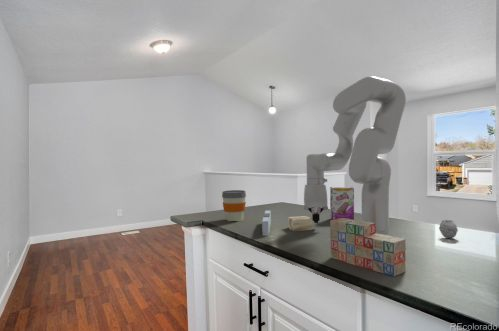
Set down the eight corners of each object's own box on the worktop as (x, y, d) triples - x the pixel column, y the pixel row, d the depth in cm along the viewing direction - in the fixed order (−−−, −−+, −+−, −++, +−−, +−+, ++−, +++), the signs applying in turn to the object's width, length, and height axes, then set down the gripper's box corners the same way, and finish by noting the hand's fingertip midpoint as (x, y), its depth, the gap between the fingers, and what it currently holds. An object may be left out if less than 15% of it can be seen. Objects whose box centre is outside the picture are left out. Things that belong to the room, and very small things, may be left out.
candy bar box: (331, 220, 158) (331, 187, 157) (330, 218, 163) (329, 186, 162) (354, 220, 156) (354, 187, 156) (352, 218, 161) (351, 186, 161)
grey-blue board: (268, 235, 130) (268, 220, 130) (262, 235, 131) (262, 220, 131) (270, 222, 156) (270, 209, 156) (265, 222, 157) (265, 210, 156)
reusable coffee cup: (246, 222, 159) (245, 192, 159) (221, 222, 159) (220, 193, 159) (246, 217, 171) (246, 189, 171) (223, 217, 172) (223, 190, 171)
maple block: (312, 230, 139) (312, 218, 139) (293, 231, 138) (293, 220, 138) (307, 226, 146) (306, 216, 146) (288, 228, 145) (288, 217, 144)
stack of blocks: (406, 272, 87) (405, 227, 87) (394, 277, 84) (393, 231, 83) (342, 254, 105) (342, 217, 104) (330, 257, 101) (329, 219, 101)
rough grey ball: (454, 236, 123) (454, 218, 123) (461, 240, 116) (460, 222, 116) (436, 235, 124) (436, 217, 124) (442, 240, 118) (442, 221, 118)
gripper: (331, 180, 144) (331, 220, 144) (298, 181, 145) (298, 220, 146) (333, 182, 136) (334, 224, 137) (298, 182, 138) (299, 224, 138)
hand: (316, 222), depth 141 cm, fingers closed
